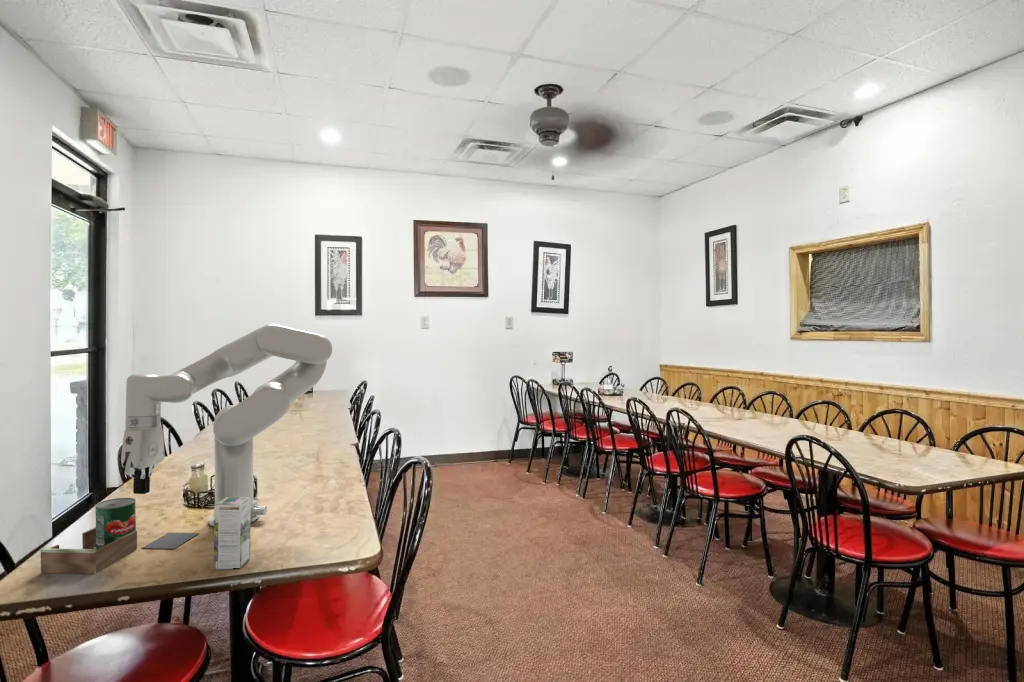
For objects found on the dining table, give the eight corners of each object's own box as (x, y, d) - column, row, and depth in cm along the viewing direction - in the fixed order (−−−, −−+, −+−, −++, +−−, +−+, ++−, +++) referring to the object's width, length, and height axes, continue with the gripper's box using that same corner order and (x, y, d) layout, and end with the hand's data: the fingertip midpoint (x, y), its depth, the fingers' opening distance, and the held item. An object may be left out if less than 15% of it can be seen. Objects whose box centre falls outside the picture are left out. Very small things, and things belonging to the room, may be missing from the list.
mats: (199, 533, 141) (199, 533, 141) (149, 564, 123) (149, 563, 123) (110, 532, 142) (110, 531, 142) (47, 562, 123) (47, 561, 123)
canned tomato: (112, 541, 136) (112, 497, 136) (143, 541, 136) (143, 497, 136) (87, 554, 128) (86, 507, 128) (120, 554, 128) (119, 507, 128)
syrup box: (224, 559, 126) (224, 496, 125) (251, 558, 126) (251, 495, 126) (213, 570, 120) (212, 504, 120) (241, 569, 120) (240, 503, 120)
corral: (167, 532, 142) (167, 513, 142) (93, 573, 118) (93, 550, 118) (123, 531, 142) (123, 512, 142) (40, 572, 118) (40, 549, 118)
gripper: (136, 427, 134) (134, 502, 134) (176, 418, 149) (174, 485, 149) (106, 426, 134) (104, 501, 134) (149, 417, 149) (147, 484, 149)
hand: (141, 492), depth 141 cm, fingers closed
